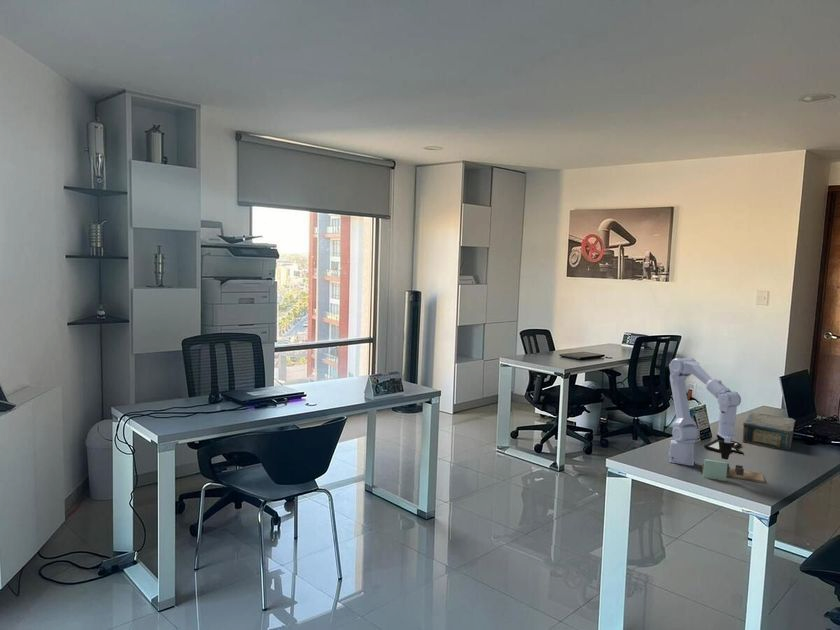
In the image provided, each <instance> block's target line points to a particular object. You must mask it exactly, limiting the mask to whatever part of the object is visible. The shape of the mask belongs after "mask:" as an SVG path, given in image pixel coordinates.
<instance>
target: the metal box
mask: <svg viewBox="0 0 840 630" xmlns="http://www.w3.org/2000/svg"><path fill="white" fill-rule="evenodd" d="M795 424H796V419H794V418H792V417H785V416H779V415H773V414H771V415H770V414H765V413H757V412H756V413H755V412H752V411H751V412H749V414H748V415H747V417H746V419H745V420H744V421H743V422H742V425H743V431H742V443H744V442H745V444H746V443H747V444H752V445H755V444H757V445H756V446H761V445H762V447H766V446H767V447H768V448H772V447H774V448H773V449H778V448H779V449H778V450H784V449H785V451H790V450H791V446H792V443H793V442H792V441H793V434H794V427H795ZM767 447H766V448H767Z"/></svg>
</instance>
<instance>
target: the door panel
mask: <svg viewBox="0 0 840 630" xmlns="http://www.w3.org/2000/svg"><path fill="white" fill-rule="evenodd" d="M703 463H704V472H702V477H703V478H704V477H705V479H706V478H707V479H712V480H716V479H717V481H724V482H726V481H727V477H726V475H727V465H728V464H729V463H728V462H727V461H726V462H725V461H720V460H714V459H709V458H706V459H704V462H703Z"/></svg>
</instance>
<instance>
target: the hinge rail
mask: <svg viewBox="0 0 840 630" xmlns="http://www.w3.org/2000/svg"><path fill="white" fill-rule="evenodd" d="M700 466H701V471H702V472H701V473H703V472H704V464H703V463H701V465H700ZM743 467H744V466H743V465H739V464H735V468H731V466H730V463H728V465H727V475H726V478H731V477H732V479H737V478H738V480H743V479H744V481H749V480H750V482H755V481H757V482H756V483H763V484H765V483H766V480H765V478H764V476H763V474H762V473H761V472H754V471H750V470H749V471H748V470H745V469H744V468H743Z"/></svg>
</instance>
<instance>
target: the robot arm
mask: <svg viewBox="0 0 840 630" xmlns="http://www.w3.org/2000/svg"><path fill="white" fill-rule="evenodd" d="M668 367H669V373H670V374H669V383H670V387H671V392H672V393H671V395H672V398H673V399H672V400H673V405H674V411H675V416H676V420H675V421H673V423H672V432H671V435H672V438H673V439H671V440H670V445H669V446H670V447H669V452H668V458H669V460H668V463H673V464H679V465H684V466H691V467H694V466H695V462H694V451H695V443H697V440H698V439H699V437H700V430H699V428H698V426H697V422H696V421H694V419H693V418H692V416H691V414H690V413H691V412H690V411H691V410H690V407H689V401H688V395H687V390H686V383H685V381H686V379H687V378H689V377H690V376H692V375H693V376H694V377H695V378H697V379H698V380H699V381H700V382H702V383H703V384H705V386H706V390H707V391H708V392H709V393H710V394H711V395H713V397H714V398H716V399H717V403H718V406H719V407H718V408H719V416H718V417H719V418H718V428H717V432H716V439H718V442H719V451H720V453H719V454H720V456H721V457H720V458H721V459H722V460H726V461H727V460H729V457H730V455H731V453H732V452H731V450H732V448H733V446H734V445H735V443H732V442H730V441H732V439H734V438H738V434H737V433H735V431H736V430H735V429H736V421H737V420H736V418H737V409H738V406H741V405H740V404H741V402H742V397H741V395H740V394H739V393H738V392H737V391H735V390H734V391H732V390H731V389H730V388H729V387H727V386H726V385H725V384H723V381H722V380H721V379H717V378H714V379H713V378H712V377H711V376H710V375H709V373H707V372H706V370H705V369H703V368H702V366H700V363H699V362H698V361H697V360H696V359H695V358H693V357H689V358H686V357H685V358H679V357H678V358H677V357H675V358H673V359H672V360H670V363H669V364H668Z"/></svg>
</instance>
